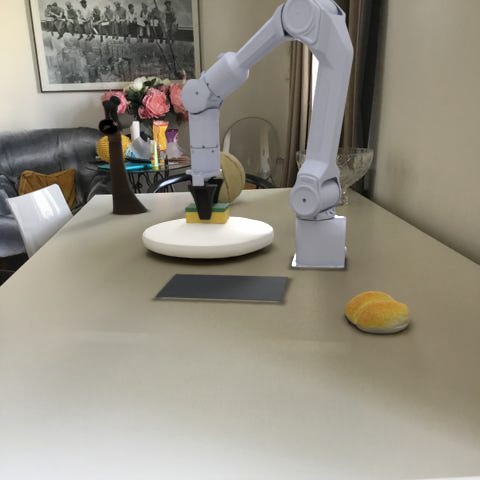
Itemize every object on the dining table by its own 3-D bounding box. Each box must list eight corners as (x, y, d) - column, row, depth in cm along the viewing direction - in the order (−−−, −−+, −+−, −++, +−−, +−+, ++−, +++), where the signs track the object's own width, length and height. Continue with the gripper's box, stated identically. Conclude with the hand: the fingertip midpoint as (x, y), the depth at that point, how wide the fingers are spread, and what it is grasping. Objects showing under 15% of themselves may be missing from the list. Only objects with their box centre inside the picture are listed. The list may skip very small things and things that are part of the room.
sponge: (229, 217, 117) (229, 203, 116) (224, 223, 112) (224, 208, 111) (192, 217, 118) (191, 203, 117) (185, 222, 114) (184, 208, 113)
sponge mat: (288, 279, 97) (288, 276, 97) (280, 303, 87) (280, 300, 86) (176, 276, 101) (175, 273, 101) (155, 299, 90) (155, 296, 90)
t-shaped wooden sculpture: (120, 202, 171) (108, 95, 160) (152, 200, 171) (142, 94, 160) (104, 224, 142) (88, 96, 131) (142, 223, 142) (129, 95, 131)
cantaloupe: (256, 202, 164) (255, 148, 158) (220, 210, 154) (217, 153, 148) (220, 197, 173) (218, 146, 168) (184, 204, 164) (180, 151, 158)
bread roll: (370, 340, 73) (372, 311, 72) (336, 316, 81) (337, 290, 80) (423, 329, 76) (426, 301, 74) (385, 307, 84) (387, 281, 82)
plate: (168, 211, 131) (282, 214, 126) (169, 240, 133) (281, 243, 127) (119, 226, 104) (261, 230, 99) (121, 261, 106) (261, 266, 101)
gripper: (194, 143, 117) (197, 209, 122) (174, 151, 104) (179, 224, 109) (227, 143, 116) (229, 209, 121) (212, 150, 103) (215, 224, 108)
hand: (208, 216), depth 115 cm, fingers closed on sponge, 5 cm apart
